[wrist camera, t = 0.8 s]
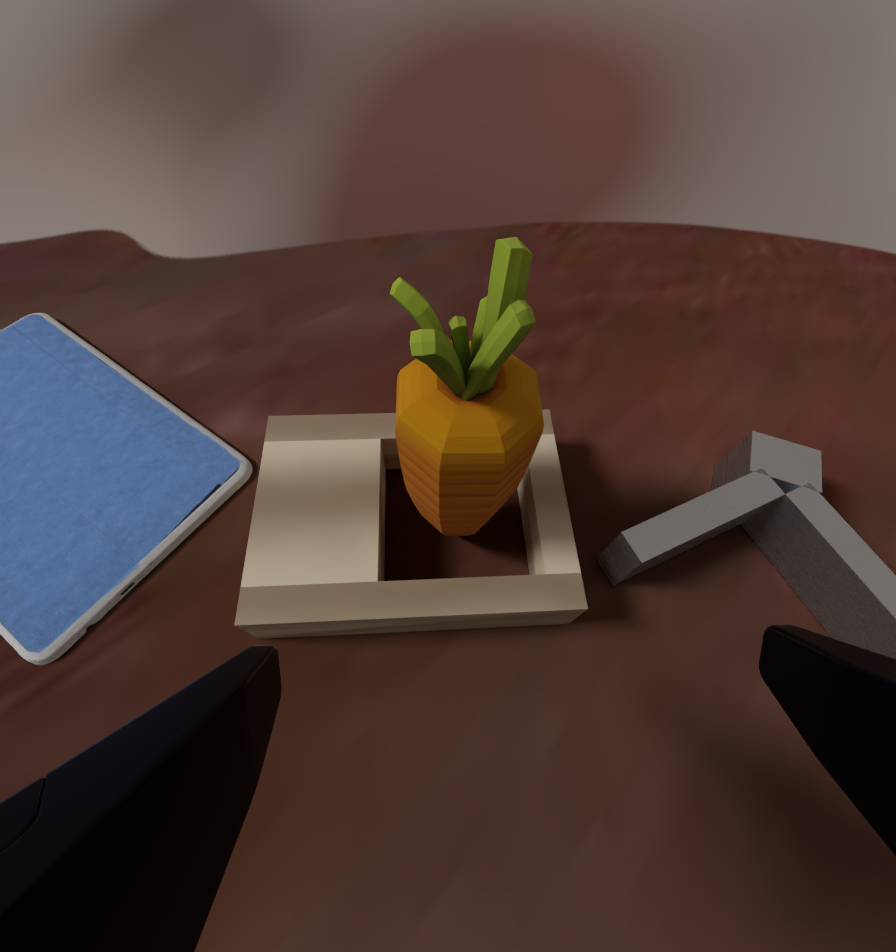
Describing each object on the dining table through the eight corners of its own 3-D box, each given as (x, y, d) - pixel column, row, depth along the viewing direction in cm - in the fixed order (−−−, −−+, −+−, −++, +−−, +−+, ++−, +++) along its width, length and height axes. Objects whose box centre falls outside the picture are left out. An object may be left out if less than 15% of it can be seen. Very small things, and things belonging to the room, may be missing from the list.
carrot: (428, 591, 22) (423, 383, 9) (390, 503, 24) (343, 230, 11) (520, 551, 23) (639, 313, 10) (477, 471, 25) (527, 188, 12)
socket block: (568, 623, 21) (587, 608, 19) (259, 638, 21) (234, 625, 18) (537, 441, 26) (549, 409, 24) (285, 448, 25) (268, 416, 23)
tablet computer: (264, 473, 25) (256, 461, 24) (50, 677, 20) (26, 674, 19) (52, 320, 30) (37, 304, 29) (-164, 452, 25) (-192, 439, 24)
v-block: (888, 684, 21) (968, 677, 18) (591, 578, 22) (616, 554, 19) (873, 516, 25) (936, 485, 22) (623, 437, 27) (648, 399, 23)
